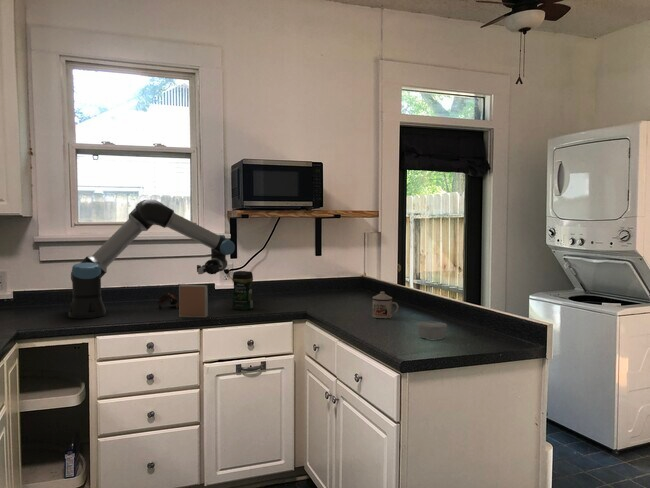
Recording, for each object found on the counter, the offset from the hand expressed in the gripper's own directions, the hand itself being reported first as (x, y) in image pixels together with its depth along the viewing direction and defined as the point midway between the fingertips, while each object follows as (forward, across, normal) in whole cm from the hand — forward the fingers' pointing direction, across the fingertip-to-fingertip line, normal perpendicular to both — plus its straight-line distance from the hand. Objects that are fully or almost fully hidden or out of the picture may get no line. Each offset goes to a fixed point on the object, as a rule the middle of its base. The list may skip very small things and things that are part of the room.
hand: (199, 271), depth 236 cm
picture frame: (+10, 0, -19) cm, 22 cm away
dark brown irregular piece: (-12, +19, -20) cm, 30 cm away
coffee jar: (-10, -18, -20) cm, 29 cm away
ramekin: (+43, -101, -20) cm, 111 cm away
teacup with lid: (+7, -86, -20) cm, 88 cm away
